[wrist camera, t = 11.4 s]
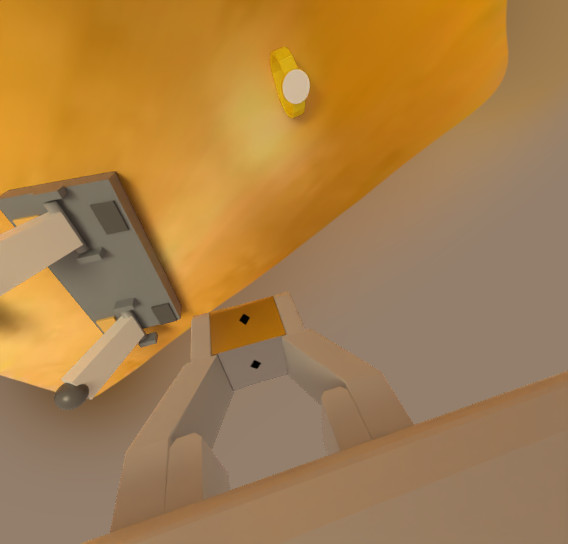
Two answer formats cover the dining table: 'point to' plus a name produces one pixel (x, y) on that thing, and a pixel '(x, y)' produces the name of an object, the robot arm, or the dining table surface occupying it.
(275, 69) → the watch
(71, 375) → the lever
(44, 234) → the lever
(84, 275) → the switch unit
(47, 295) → the dining table surface
